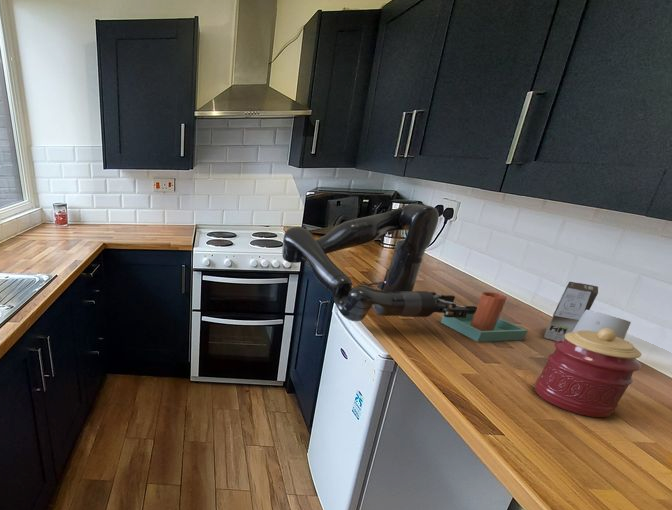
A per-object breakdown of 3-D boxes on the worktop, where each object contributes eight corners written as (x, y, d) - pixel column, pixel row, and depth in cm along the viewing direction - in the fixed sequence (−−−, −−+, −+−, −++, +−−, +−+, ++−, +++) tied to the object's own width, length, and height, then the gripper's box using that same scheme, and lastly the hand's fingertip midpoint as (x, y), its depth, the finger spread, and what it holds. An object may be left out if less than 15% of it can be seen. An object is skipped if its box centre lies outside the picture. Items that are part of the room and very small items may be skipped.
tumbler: (464, 326, 124) (477, 292, 119) (478, 324, 125) (491, 291, 121) (484, 334, 119) (498, 299, 114) (497, 332, 120) (511, 298, 116)
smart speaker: (615, 364, 105) (643, 315, 100) (600, 372, 101) (629, 321, 96) (569, 348, 113) (592, 302, 107) (554, 355, 109) (577, 307, 103)
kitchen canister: (627, 413, 85) (673, 339, 78) (586, 423, 81) (631, 346, 74) (556, 381, 96) (591, 314, 89) (518, 388, 93) (551, 319, 86)
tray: (440, 322, 127) (443, 313, 126) (483, 320, 130) (486, 312, 128) (477, 341, 115) (481, 332, 114) (523, 339, 117) (527, 330, 116)
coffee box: (572, 345, 115) (599, 293, 108) (543, 337, 119) (567, 287, 113) (573, 336, 121) (599, 286, 114) (545, 329, 125) (568, 280, 118)
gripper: (393, 306, 125) (442, 307, 126) (424, 325, 112) (478, 326, 113) (400, 283, 122) (450, 284, 123) (432, 301, 109) (488, 301, 110)
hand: (464, 304), depth 118 cm, fingers open, 8 cm apart
